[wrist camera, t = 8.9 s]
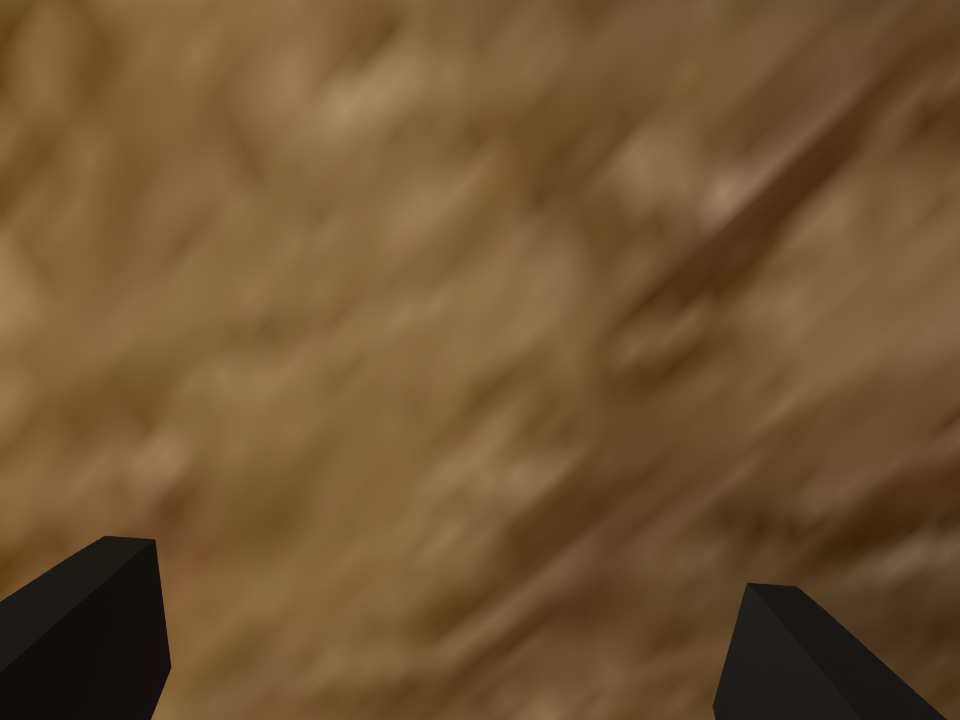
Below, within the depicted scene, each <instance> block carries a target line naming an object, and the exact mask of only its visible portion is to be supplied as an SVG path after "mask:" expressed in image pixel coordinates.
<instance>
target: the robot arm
mask: <svg viewBox="0 0 960 720" xmlns="http://www.w3.org/2000/svg"><path fill="white" fill-rule="evenodd" d="M170 670H171V661H170V653H169V645H168V637H167V629H166V621H165V613H164V605H163V597H162V589H161V581H160V573H159V565H158V557H157V549H156V541H155V539H141V538H128V537H114V536H104V537H102V538H100V539H99V540H97V541H95V542H94V543H92V544H90V545H88V546H87V547H85V548H83V549H82V550H80V551H79V552H77V553H75V554H74V555H72V556H71V557H69V558H67V559H66V560H64V561H63V562H61V563H60V564H58V565H56V566H55V567H53V568H52V569H50V570H49V571H47V572H46V573H44V574H42V575H41V576H39V577H38V578H36V579H35V580H33V581H32V582H30V583H29V584H27V585H25V586H24V587H22V588H21V589H19V590H18V591H16V592H15V593H13V594H12V595H10V596H9V597H7V598H5V599H4V600H2V601H1V602H0V720H151V718H152V716H153V713H154V711H155V708H156V706H157V703H158V700H159V698H160V695H161V693H162V690H163V688H164V685H165V683H166V680H167V677H168V675H169V672H170ZM713 709H714V714H715V719H716V720H946V719H945V718H944V717H943V716H942V715H941V714H940V713H939V712H937V711H936V710H935V709H934V708H933V707H932V706H931V705H929V704H928V703H927V702H926V701H925V700H924V699H923V698H922V697H920V696H919V695H918V694H917V693H916V692H915V691H914V690H913V689H912V688H910V687H909V686H908V685H907V684H906V683H905V682H904V681H903V680H902V679H900V678H899V677H898V676H897V675H896V674H895V673H894V672H893V671H892V670H890V669H889V668H888V667H887V666H886V665H885V664H884V663H883V662H882V661H881V660H879V659H878V658H877V657H876V656H875V655H874V654H873V653H872V652H871V651H869V650H868V649H867V648H866V647H865V646H864V645H863V644H862V643H861V642H860V641H858V640H857V639H856V638H855V637H854V636H853V635H852V634H851V633H850V632H849V631H847V630H846V629H845V628H844V627H843V626H842V625H841V624H840V623H839V622H837V621H836V620H835V619H834V618H833V617H832V616H831V615H830V614H828V613H827V612H826V611H825V610H824V609H823V608H822V607H821V606H819V605H818V604H817V603H816V602H815V601H814V600H812V599H811V598H810V597H809V596H808V595H806V594H805V593H804V592H803V591H802V590H800V589H799V588H798V587H796V586H782V585H769V584H755V583H747V585H746V589H745V592H744V596H743V600H742V603H741V607H740V610H739V614H738V617H737V621H736V625H735V628H734V632H733V635H732V639H731V643H730V646H729V650H728V653H727V657H726V661H725V664H724V668H723V671H722V675H721V679H720V682H719V686H718V689H717V693H716V697H715V700H714V704H713Z"/></svg>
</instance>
